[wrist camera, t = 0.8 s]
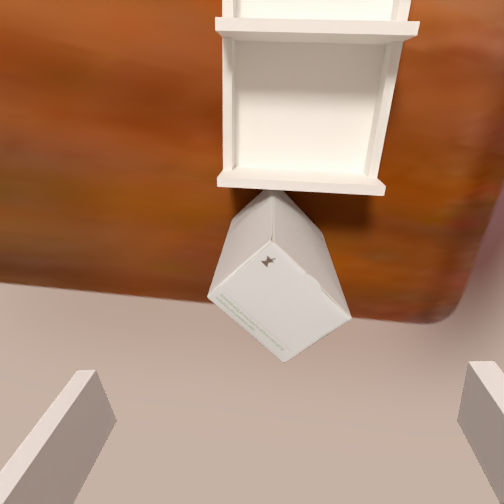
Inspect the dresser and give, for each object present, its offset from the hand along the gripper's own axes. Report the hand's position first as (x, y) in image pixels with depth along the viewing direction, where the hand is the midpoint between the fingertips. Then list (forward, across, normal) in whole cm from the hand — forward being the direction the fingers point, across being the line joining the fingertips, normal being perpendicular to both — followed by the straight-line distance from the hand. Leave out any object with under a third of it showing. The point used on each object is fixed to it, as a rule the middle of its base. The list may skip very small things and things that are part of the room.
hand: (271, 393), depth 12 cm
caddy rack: (+25, +3, +13) cm, 29 cm away
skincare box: (+26, 0, -3) cm, 26 cm away
